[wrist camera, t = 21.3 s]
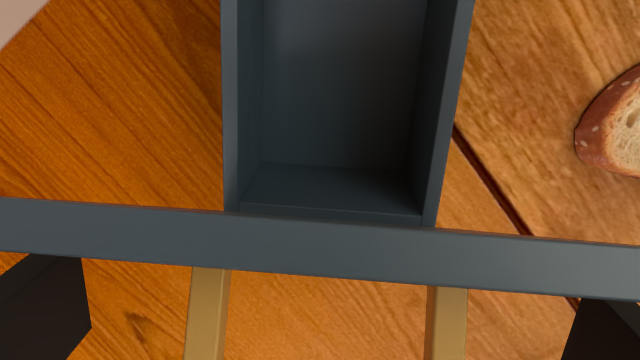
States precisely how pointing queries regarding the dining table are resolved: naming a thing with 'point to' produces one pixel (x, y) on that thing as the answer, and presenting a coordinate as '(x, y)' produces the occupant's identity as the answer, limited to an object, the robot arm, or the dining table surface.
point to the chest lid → (321, 258)
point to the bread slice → (613, 128)
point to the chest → (340, 106)
